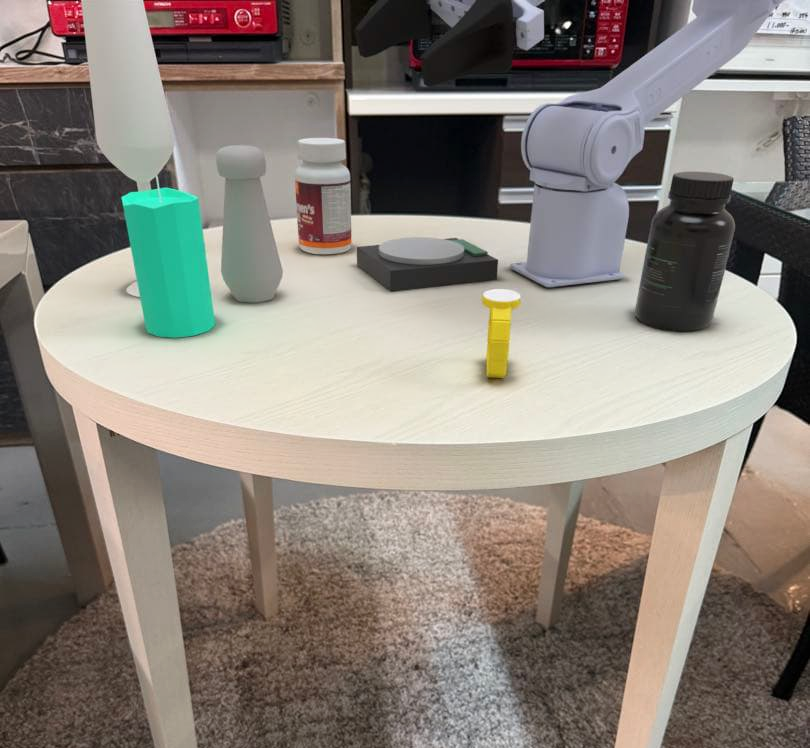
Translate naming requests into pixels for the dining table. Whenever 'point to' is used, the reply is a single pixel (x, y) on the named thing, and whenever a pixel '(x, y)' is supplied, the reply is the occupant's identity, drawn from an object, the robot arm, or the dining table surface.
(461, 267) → the scale
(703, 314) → the supplement bottle
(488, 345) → the watch
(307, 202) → the pill bottle
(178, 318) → the candle
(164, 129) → the champagne flute
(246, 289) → the salt shaker
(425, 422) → the dining table surface
